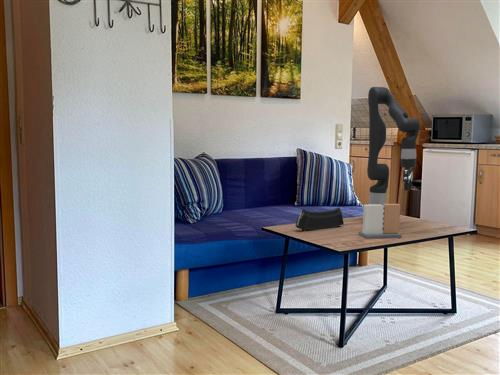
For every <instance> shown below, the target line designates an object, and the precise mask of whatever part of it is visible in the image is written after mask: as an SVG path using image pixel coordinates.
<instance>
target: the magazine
mask: <svg viewBox="0 0 500 375" xmlns="http://www.w3.org/2000/svg"><path fill="white" fill-rule="evenodd" d="M344 225H345V223H344V217H343V212H342V210H341V208H340V207H337V208H334V209H331V210H324V211H309V210H306V209H302V210H301V211H300V213H299V215H298V217H297V218H296V222H295V225H294V226H295V227H296V228H297V229H300V230H301V232H304V231H320V230H328V229H332V228H336V227H339V226H344Z"/></svg>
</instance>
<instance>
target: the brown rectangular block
mask: <svg viewBox="0 0 500 375" xmlns="http://www.w3.org/2000/svg"><path fill="white" fill-rule="evenodd" d="M383 205H385V206H384V207H385V208H384V226H383V233H399V234H400V217H401V204H399V203H386V204H383Z"/></svg>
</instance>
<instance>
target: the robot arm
mask: <svg viewBox="0 0 500 375" xmlns="http://www.w3.org/2000/svg"><path fill="white" fill-rule="evenodd" d="M367 100H368V102H367V103H368V114H369V118H368V119H369V120H368V122H369V128H368V140H369V141H368V143H369V144H368V160H367V168H366V172H367V177H368V179H369V180H370V181H377V182H376V183H375V184H373V185H372V186H370V187H369V193H368V195H369V196H368V197H369V198H368V199H369V200H368V205H374V204H387V190H388V188H389V178H390V168H389V165H388V164H386V163H378V161H379V160H378V159H379V155H380V152H381V151H382V149H383V147H384V146H385V143H386V141H387V127H386V126H387V125H386V123H385V122H384V119H382V116H381V114H380V112H379V105H385V106H387V107H388V111H387V112H388V114H389V116H390V117H391V119H392V120H393V121H394V122H395V124H396V127H397V129H398V130H399V131H400V132H401V133H408V134H407V136H405V137H403V138H401V144H400V145H401V150H400V167H401V168H404V169H403V170H402V172H403V174H402V175H403V176H402V177H403V178H402V183H404V184H403V190H404V191H409V190H412V188H413V180H414V168H416V167H417V138H418V135H419V131H420V127H421V124H420V121H419V120H418V118H413V117H411V118H410V117H409V114H408V113H407V112H406V110H404V109H403V108H402V106H401V105H400V104H399V103H398V102H397V100H396V98H395V97H394V94H393V93H392V92H391V91H390V89H389V88H387V87H385V86H381V87H380V86H372V87H370V88H369V90H368V95H367Z"/></svg>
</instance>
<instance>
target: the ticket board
mask: <svg viewBox="0 0 500 375" xmlns="http://www.w3.org/2000/svg"><path fill="white" fill-rule="evenodd" d="M384 206H385V205H383V204H374V205H369V204H363V210H362V211H363V212H362V228H361V229H362V230H358V233H357V234H358V235H359V236H361V237H362V238H365V239H367V240H369V239H372V240H373V239H401V238H402V234H401V233H400V232H399V233H383V226H384V208H385V207H384Z"/></svg>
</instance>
